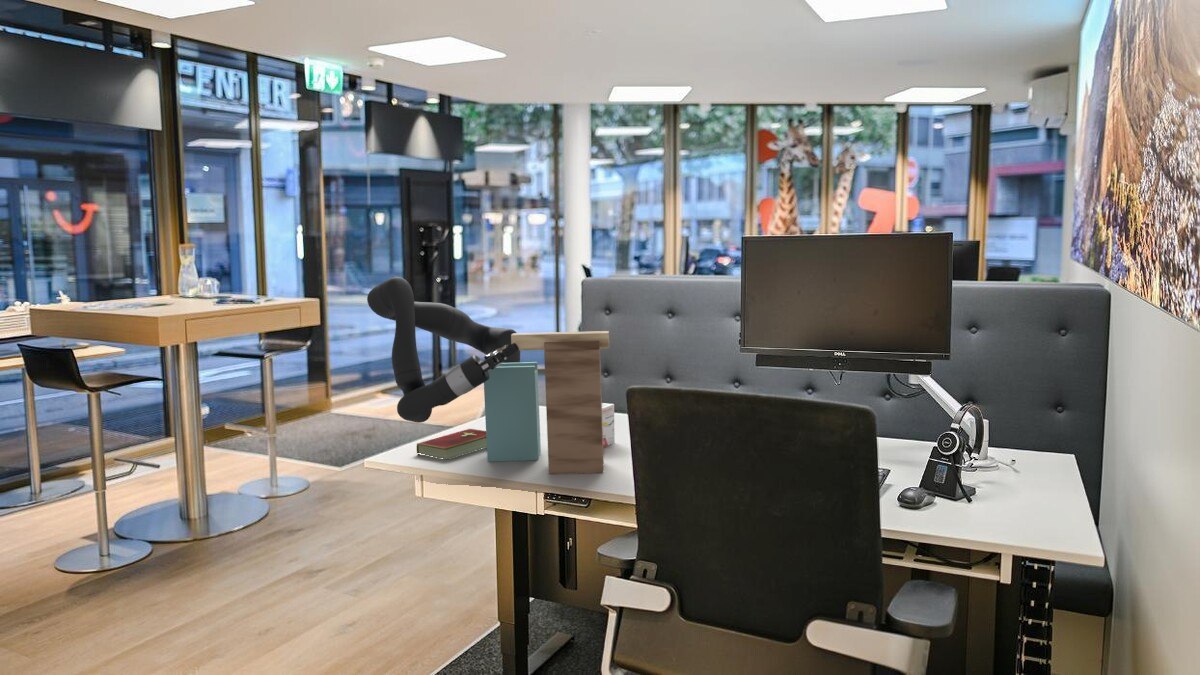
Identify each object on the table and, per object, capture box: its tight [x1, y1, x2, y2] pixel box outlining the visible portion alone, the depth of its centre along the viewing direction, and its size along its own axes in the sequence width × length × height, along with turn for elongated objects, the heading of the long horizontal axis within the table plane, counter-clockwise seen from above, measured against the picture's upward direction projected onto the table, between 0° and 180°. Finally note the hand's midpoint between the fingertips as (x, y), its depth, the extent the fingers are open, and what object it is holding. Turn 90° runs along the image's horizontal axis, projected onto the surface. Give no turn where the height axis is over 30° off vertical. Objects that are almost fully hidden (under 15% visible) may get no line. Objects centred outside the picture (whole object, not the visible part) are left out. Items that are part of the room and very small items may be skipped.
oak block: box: [511, 330, 610, 351], centre depth 223 cm, size 4×25×4 cm, turn 87°
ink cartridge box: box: [602, 402, 616, 449], centre depth 250 cm, size 9×5×15 cm, turn 149°
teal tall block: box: [483, 361, 542, 462], centre depth 239 cm, size 8×14×26 cm, turn 89°
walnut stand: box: [543, 341, 605, 475], centre depth 225 cm, size 10×14×34 cm
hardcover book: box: [416, 428, 487, 460], centre depth 250 cm, size 12×21×4 cm, turn 143°
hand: (519, 343), depth 223 cm, fingers open, 8 cm apart
